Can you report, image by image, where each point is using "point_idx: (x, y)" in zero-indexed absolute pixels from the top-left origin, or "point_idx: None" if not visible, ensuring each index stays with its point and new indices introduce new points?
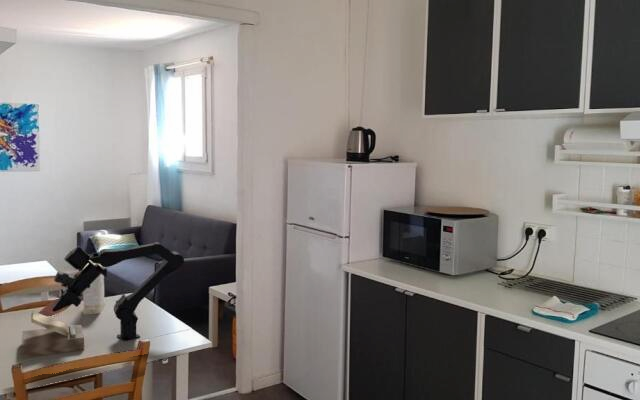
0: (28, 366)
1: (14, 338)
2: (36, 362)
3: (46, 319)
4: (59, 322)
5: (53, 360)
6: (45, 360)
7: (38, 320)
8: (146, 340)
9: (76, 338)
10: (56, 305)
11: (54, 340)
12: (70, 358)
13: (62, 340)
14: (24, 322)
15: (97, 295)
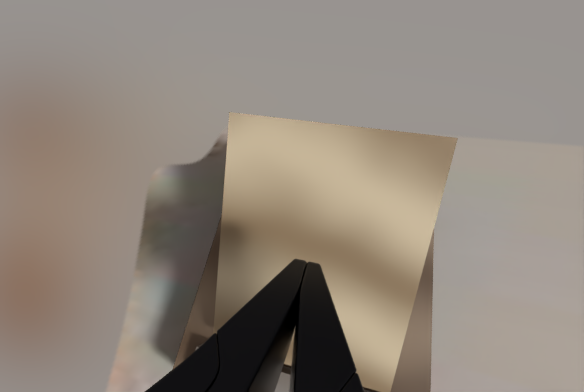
0: (175, 166)
1: (492, 166)
2: (190, 190)
3: (338, 231)
4: (378, 334)
5: (169, 239)
6: (188, 217)
7: (243, 155)
8: None
9: (174, 365)
10: (250, 306)
11: (215, 255)
12: (145, 296)
13: (198, 290)
14: None
15: None
